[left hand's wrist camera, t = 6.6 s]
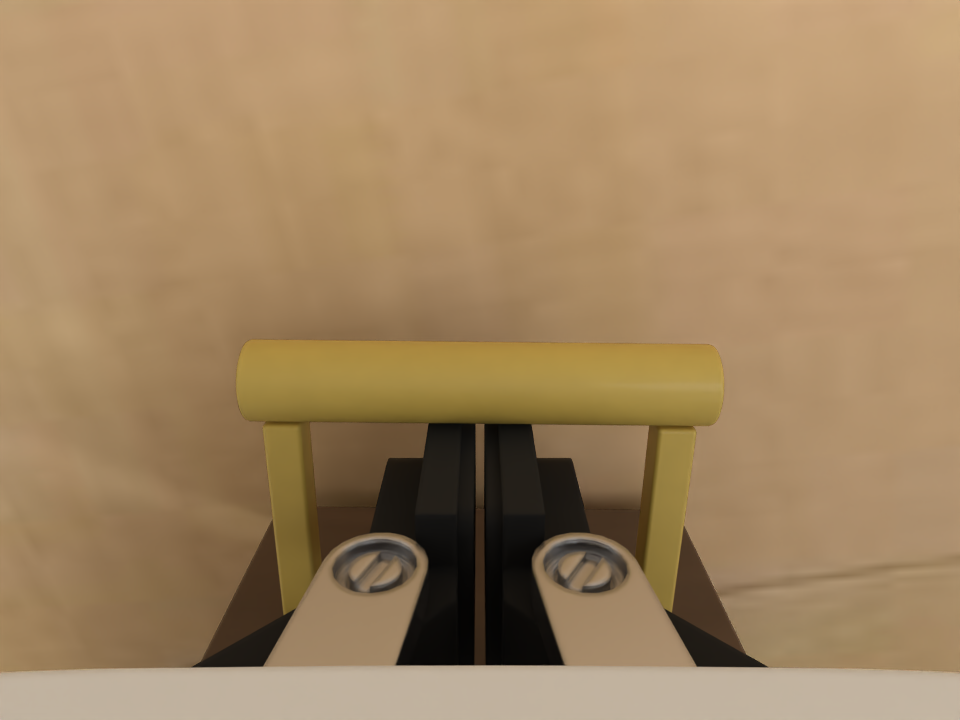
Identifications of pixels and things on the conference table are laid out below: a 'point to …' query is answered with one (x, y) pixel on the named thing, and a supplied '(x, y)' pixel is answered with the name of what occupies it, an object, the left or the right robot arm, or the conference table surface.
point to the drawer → (475, 400)
